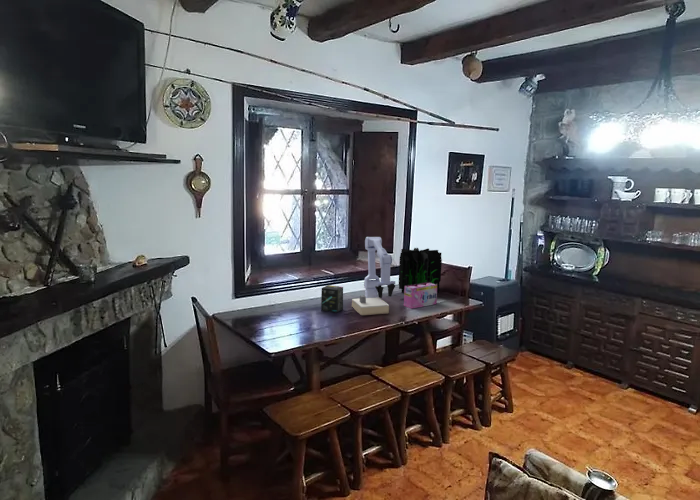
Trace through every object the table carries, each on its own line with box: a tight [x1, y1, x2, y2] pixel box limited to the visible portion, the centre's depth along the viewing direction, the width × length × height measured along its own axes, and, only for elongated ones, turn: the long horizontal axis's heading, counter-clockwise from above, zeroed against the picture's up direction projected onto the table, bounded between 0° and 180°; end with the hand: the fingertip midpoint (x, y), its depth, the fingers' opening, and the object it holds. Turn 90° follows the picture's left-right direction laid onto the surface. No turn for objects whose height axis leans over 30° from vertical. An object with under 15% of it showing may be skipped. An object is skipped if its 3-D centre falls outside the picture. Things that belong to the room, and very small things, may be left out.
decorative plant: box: [398, 247, 443, 294], centre depth 343 cm, size 29×30×30 cm
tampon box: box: [320, 284, 344, 314], centre depth 290 cm, size 11×9×15 cm
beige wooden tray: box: [351, 299, 390, 316], centre depth 293 cm, size 18×18×4 cm
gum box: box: [403, 282, 438, 309], centre depth 307 cm, size 24×8×14 cm, turn 124°
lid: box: [351, 294, 390, 308], centre depth 292 cm, size 18×18×5 cm
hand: (385, 297), depth 285 cm, fingers open, 7 cm apart
